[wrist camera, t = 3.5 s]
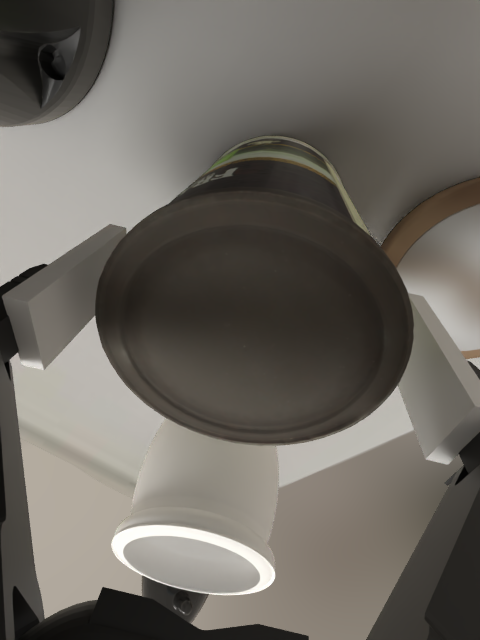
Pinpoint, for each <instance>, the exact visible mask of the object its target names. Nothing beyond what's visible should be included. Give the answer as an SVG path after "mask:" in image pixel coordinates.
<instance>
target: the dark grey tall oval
mask: <svg viewBox="0 0 480 640" xmlns="http://www.w3.org/2000/svg"><path fill="white" fill-rule="evenodd" d="M208 595H209V594H206V593H199V592H193V591H188V590H183V589H179V588H175V587H172V586H169V585H165V584H162V583H160V582H157V581H154V580H152V579H149V578H147V577H145V576H143V575H142V597H147V598H151V599H154V600H155V601H157V602H158V603H160V604H161V605H163V606H164V607H166V608H167V609H169V610H171V611H172V612H174V613H175V614H177V615H178V616H180V617H181V618H183V619H184V620H186V621H187V622H189V623H190V624H191V623H192V622H193V620H194V619H195V617H196V616H197V615H198V613H199V612H200V610H201V608H202V606H203V605H204V603H205V601H206V599H207V597H208Z"/></svg>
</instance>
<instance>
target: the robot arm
mask: <svg viewBox="0 0 480 640" xmlns="http://www.w3.org/2000/svg"><path fill="white" fill-rule="evenodd" d="M112 11H113V0H0V127H13V126H23V125H33V124H40V123H45V122H48V121H51V120H54V119H56V118H58V117H60V116H62V115H64V114H65V113H67V112H68V111H70V110H71V109H72V108H74V107H75V106H76V105H77V104H78V103H79V102H80V101H81V100H82V98H83V97H84V96H85V95H86V94H87V92H88V91H89V89H90V88H91V86H92V84H93V83H94V81H95V79H96V77H97V75H98V73H99V70H100V68H101V65H102V63H103V60H104V57H105V53H106V50H107V46H108V41H109V36H110V30H111V23H112ZM125 236H126V228H125V227H120V226H116V225H112V224H109V225H108V226H106V227H105V228H103V229H102V230H100V231H99V232H97V233H96V234H94V235H93V236H91V237H90V238H88V239H87V240H85V241H84V242H82V243H81V244H79V245H78V246H76V247H75V248H73V249H72V250H70V251H69V252H67V253H66V254H64V255H63V256H61V257H60V258H58V259H57V260H55V261H54V262H52V263H51V264H49V265H46V264H42V265H39V266H35V267H32V268H29V269H28V270H26V271H24V272H23V273H21V274H20V275H19V276H17V277H15V278H13V279H12V280H11V282H7V283H5V284H4V285H2V286H1V287H0V640H309V637H308V636H306V635H302V634H298V633H294V632H289V631H285V630H281V629H277V628H273V627H268V626H264V625H260V624H254V625H246V626H238V627H230V628H223V629H216V630H201V629H198V628H197V627H195V626H193V625H192V624H190V623H189V622H187V621H186V620H184V619H183V618H181V617H180V616H178V615H177V614H175V613H174V612H172V611H171V610H169V609H167V608H166V607H164V606H163V605H161V604H160V603H158V602H157V601H155V600H154V599H151V598H147V597H142V596H138V595H134V594H129V593H126V592H121V591H117V590H113V589H109V588H104V587H103V588H102V590H101V593H100V595H99V598H98V600H93V601H87V602H83V603H79V604H76V605H73V606H71V607H68V608H66V609H63V610H61V611H59V612H57V613H55V614H53V615H51V616H50V617H48V618H46V619H45V618H44V611H43V604H42V598H41V593H40V589H39V585H38V581H37V577H36V571H35V564H34V556H33V547H32V539H31V530H30V521H29V513H28V504H27V495H26V486H25V478H24V469H23V461H22V453H21V443H20V435H19V426H18V417H17V409H16V400H15V391H14V383H13V374H12V366H11V363H10V359H11V358H12V357H13V356H14V355H15V354H16V353H17V352H18V353H19V357H20V360H21V364H22V365H24V366H28V367H33V368H37V369H41V370H45V368H46V367H47V366H48V365H49V364H50V363H51V362H52V361H53V360H54V359H55V358H56V357H57V356H58V355H59V353H60V352H61V351H62V350H63V349H64V348H65V347H66V346H67V345H68V344H69V343H70V342H71V341H72V339H73V338H74V337H75V336H76V335H77V334H78V333H79V332H80V331H81V330H82V329H83V328H84V327H85V325H86V324H87V323H88V322H89V321H90V320H91V319H92V318H93V317H94V316H95V301H96V292H97V287H98V282H99V278H100V276H101V274H102V271H103V269H104V266H105V264H106V262H107V260H108V258H109V257H110V255H111V253H112V252H113V250H114V249H115V247H116V246H117V245H118V243H119V242H120V240H121V239H123V238H124V237H125ZM408 295H409V299H410V302H411V306H412V311H413V319H414V330H413V332H414V340H413V346H412V352H411V355H410V359H409V362H408V364H407V367H406V370H405V372H404V374H403V376H402V378H401V380H400V382H399V384H398V387H399V390H400V393H401V395H402V398H403V401H404V403H405V406H406V409H407V411H408V414H409V417H410V419H411V422H412V425H413V427H414V430H415V433H416V436H417V438H418V441H419V443H420V446H421V449H422V452H423V454H424V457H425V459H426V460H430V461H435V462H439V463H443V464H449V463H450V462H451V461H452V460H453V459H454V458H455V457H456V456H457V455H458V454H459V455H460V457H461V459H462V462H463V464H464V465H463V466H462V467H461V468H460V469H459V470H458V471H457V472H456V473H455V474H453V475H452V476H451V478H449V479H448V480H447V481H446V482H445V484H446V485H449V484H450V485H449V487H448V489H447V491H446V493H445V495H444V497H443V498H442V500H441V502H440V504H439V506H438V508H437V510H436V511H435V513H434V515H433V517H432V519H431V521H430V522H429V524H428V526H427V528H426V530H425V532H424V534H423V535H422V537H421V539H420V541H419V543H418V545H417V546H416V548H415V550H414V552H413V554H412V556H411V558H410V560H409V561H408V563H407V565H406V567H405V569H404V571H403V572H402V574H401V576H400V578H399V580H398V582H397V584H396V585H395V587H394V589H393V591H392V593H391V595H390V596H389V598H388V600H387V602H386V604H385V606H384V608H383V610H382V611H381V613H380V615H379V617H378V619H377V621H376V622H375V624H374V626H373V628H372V630H371V632H370V634H369V635H368V637H367V639H366V640H480V370H479V369H478V368H477V367H476V366H475V365H474V364H472V363H471V362H469V361H467V360H466V359H465V357H464V356H463V354H462V353H461V351H460V350H459V348H458V347H457V346H456V344H455V343H454V341H453V340H452V338H451V337H450V335H449V334H448V332H447V331H446V329H445V328H444V326H443V325H442V323H441V322H440V320H439V319H438V317H437V316H436V314H435V313H434V312H433V310H432V309H431V307H430V306H429V304H428V303H427V301H426V300H425V298H424V297H423V296H420V295H415V294H411V293H408Z"/></svg>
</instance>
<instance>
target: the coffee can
mask: <svg viewBox="0 0 480 640" xmlns="http://www.w3.org/2000/svg"><path fill="white" fill-rule="evenodd" d="M95 316H96V324H97V328H98V332H99V336H100V340H101V343H102V347H103V349H104V351H105V353H106V355H107V357H108V359H109V361H110V363H111V365H112V366H113V368H114V369H115V370H116V372H117V374H118V375H119V377H120V378H121V379H122V381H123V382H124V383H125V384H126V386H127V387H128V388H129V389H130V390H131V391H132V392H133V393H134V394H135V395H136V396H137V397H139V398H140V399H141V400H142V401H143V402H144V403H145V404H146V405H148V406H149V407H151V408H152V409H154V410H155V411H156V412H158V413H159V414H161V415H162V416H164V417H165V418H167V419H169V420H171V421H172V422H174V423H176V424H178V425H180V426H182V427H185V428H187V429H189V430H191V431H194V432H196V433H199V434H202V435H205V436H208V437H211V438H214V439H218V440H222V441H228V442H232V443H238V444H247V445H258V446H278V445H290V444H297V443H304V442H309V441H313V440H317V439H321V438H324V437H327V436H330V435H332V434H335V433H338V432H340V431H343V430H345V429H347V428H349V427H351V426H353V425H355V424H357V423H358V422H359V421H361V420H363V419H364V418H366V417H367V416H369V415H370V414H371V413H372V412H373V411H375V410H376V409H377V408H378V407H379V406H380V405H381V404H382V403H383V402H384V401H385V400H386V399H387V398H388V397H389V396H390V395H391V393H392V392H393V391H394V389H395V388H396V386H397V385H398V384H399V382H400V380H401V378H402V376H403V374H404V372H405V370H406V367H407V364H408V362H409V359H410V355H411V352H412V346H413V340H414V332H413V330H414V319H413V311H412V306H411V302H410V299H409V295H408V291H407V289H406V287H405V285H404V283H403V280H402V278H401V276H400V275H399V273H398V271H397V269H396V267H395V265H394V264H393V263H392V261H391V260H390V259H389V257H388V256H387V255H386V253H385V252H384V250H383V249H382V248H381V247H380V246H379V245H378V244H377V243H376V241H375V240H374V239H373V238H372V237H371V236H370V234H369V232H368V230H367V228H366V226H365V225H364V223H363V221H362V219H361V217H360V215H359V214H358V212H357V210H356V209H355V207H354V205H353V203H352V201H351V200H350V198H349V196H348V194H347V192H346V191H345V189H344V187H343V184H342V182H341V180H340V177H339V176H338V174H337V172H336V170H335V169H334V167H333V166H332V164H331V163H330V162H329V161H328V160H327V158H326V157H325V156H324V155H323V154H321V153H320V152H319V151H317V150H316V149H315V148H313V147H311V146H310V145H308V144H306V143H304V142H301V141H299V140H296V139H293V138H288V137H283V136H261V137H256V138H253V139H249V140H247V141H244V142H242V143H240V144H238V145H236V146H234V147H233V148H231V149H230V150H228V151H227V152H225V153H224V154H223V155H222V156H221V157H220V158H219V159H218V160H217V161H216V162H215V163H214V164H213V165H212V167H211V168H210V169H209V170H207V171H206V172H205V173H204V174H203V175H202V176H201V177H199V178H198V179H197V180H196V181H195V182H193V183H192V184H191V185H190V186H189V187H188V188H186V189H185V190H184V191H183V192H182V193H180V194H179V195H178V196H177V197H176V198H175V199H174V200H172V201H171V202H170V203H169V204H167V205H166V206H164V207H162V208H160V209H158V210H156V211H155V212H153V213H152V214H150V215H149V216H147V217H146V218H144V219H143V220H142V221H141V222H139V223H138V224H137V225H136V226H135V227H134V228H133V229H132V230H130V231H129V232H128V234H127V235H126V236H125V237H124V238H123V239H121V240H120V242H119V243H118V245H117V246H116V247H115V249H114V250H113V252H112V253H111V255H110V257H109V258H108V260H107V262H106V264H105V266H104V269H103V271H102V274H101V276H100V278H99V282H98V287H97V292H96V301H95Z"/></svg>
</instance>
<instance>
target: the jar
mask: <svg viewBox="0 0 480 640" xmlns="http://www.w3.org/2000/svg"><path fill="white" fill-rule="evenodd" d="M278 486H279V466H278V455H277V448H276V446H258V445H247V444H238V443H232V442H228V441H222V440H218V439H214V438H211V437H208V436H205V435H202V434H199V433H196V432H194V431H191V430H189V429H187V428H185V427H182V426H180V425H178V424H176V423H174V422H172V421H171V420H169V419H167V418H166V419H165V420H164V422H163V423H162V425H161V427H160V428H159V430H158V432H157V433H156V435H155V437H154V439H153V441H152V443H151V445H150V447H149V449H148V451H147V454H146V456H145V459H144V461H143V464H142V467H141V470H140V473H139V476H138V480H137V484H136V488H135V492H134V496H133V502H132V510H131V515H130V516H128V517H127V518H126V519H124V520H123V521H122V522H121V523H120V524H119V526H118V527H117V529H116V531H115V534H114V538H113V540H112V543H111V547H112V550H113V552H114V554H115V555H116V557H117V558H118V559H119V560H120V561H121V562H122V563H124V564H125V565H126V566H128V567H129V568H130V569H132V570H134V571H135V572H137V573H139V574H141V575H143V576H145V577H147V578H149V579H152V580H154V581H157V582H160V583H162V584H165V585H169V586H172V587H175V588H179V589H183V590H188V591H193V592H199V593H206V594H216V595H241V594H249V593H253V592H258V591H260V590H263V589H265V588H267V587H268V586H270V585H271V584H272V582H273V581H274V578H275V572H274V570H275V559H274V555H273V553H272V551H271V549H270V547H269V546H268V541H269V538H270V535H271V531H272V528H273V523H274V518H275V512H276V506H277V498H278Z"/></svg>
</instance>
